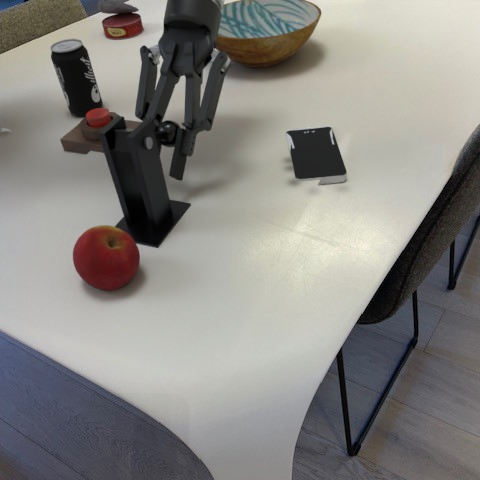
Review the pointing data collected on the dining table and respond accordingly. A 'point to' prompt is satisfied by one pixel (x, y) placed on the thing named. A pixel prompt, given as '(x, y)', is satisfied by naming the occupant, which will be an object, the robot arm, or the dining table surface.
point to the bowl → (265, 30)
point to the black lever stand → (141, 184)
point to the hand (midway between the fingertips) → (162, 175)
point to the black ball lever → (163, 134)
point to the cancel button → (98, 117)
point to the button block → (88, 136)
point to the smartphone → (316, 155)
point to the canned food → (120, 20)
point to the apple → (106, 257)
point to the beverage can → (76, 76)
